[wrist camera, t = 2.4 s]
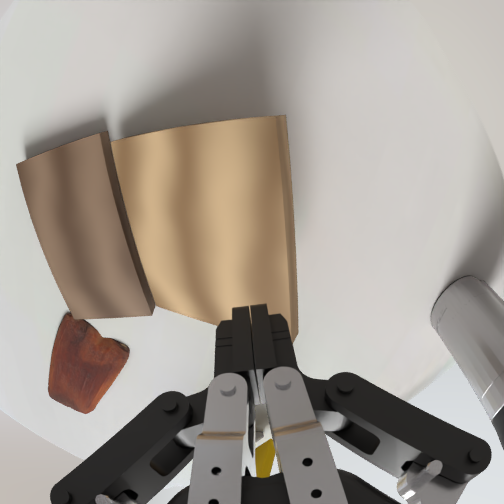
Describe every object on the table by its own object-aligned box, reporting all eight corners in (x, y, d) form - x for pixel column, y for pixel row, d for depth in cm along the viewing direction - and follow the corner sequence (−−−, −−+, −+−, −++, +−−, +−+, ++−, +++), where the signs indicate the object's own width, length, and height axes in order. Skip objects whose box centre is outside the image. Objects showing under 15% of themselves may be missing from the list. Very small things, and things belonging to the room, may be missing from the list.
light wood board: (285, 114, 15) (275, 116, 14) (298, 332, 23) (291, 345, 22) (124, 137, 21) (110, 142, 20) (165, 297, 29) (156, 305, 28)
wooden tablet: (67, 304, 30) (61, 312, 29) (136, 344, 33) (133, 354, 32) (43, 390, 39) (41, 397, 38) (89, 415, 42) (87, 422, 41)
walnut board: (107, 130, 21) (99, 133, 20) (155, 305, 30) (152, 315, 28) (26, 160, 21) (16, 164, 20) (79, 310, 30) (74, 319, 28)
